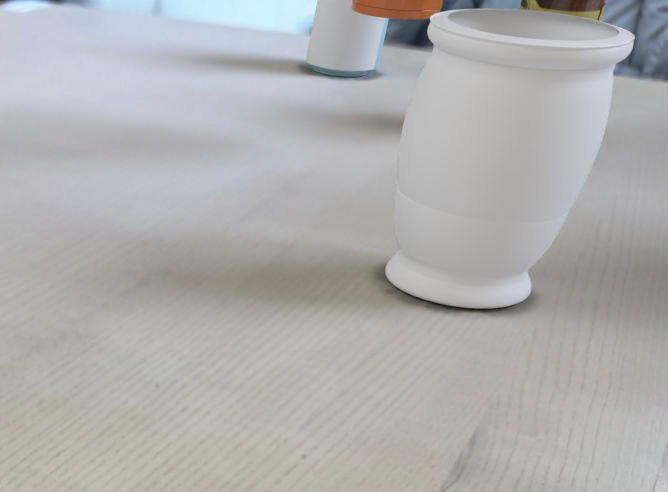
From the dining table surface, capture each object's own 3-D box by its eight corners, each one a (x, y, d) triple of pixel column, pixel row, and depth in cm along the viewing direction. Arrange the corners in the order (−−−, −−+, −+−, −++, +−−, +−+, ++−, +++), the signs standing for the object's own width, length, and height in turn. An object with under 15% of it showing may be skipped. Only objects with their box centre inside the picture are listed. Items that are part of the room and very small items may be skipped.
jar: (433, 326, 69) (513, 47, 60) (333, 262, 77) (391, 8, 68) (586, 309, 71) (684, 40, 63) (474, 249, 79) (547, 3, 71)
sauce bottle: (509, 119, 107) (584, -138, 96) (577, 135, 103) (664, -131, 92) (470, 130, 104) (544, -134, 92) (540, 147, 100) (625, -127, 88)
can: (293, 70, 121) (318, -63, 114) (320, 58, 126) (345, -70, 119) (361, 81, 118) (391, -55, 111) (386, 69, 122) (417, -63, 115)
